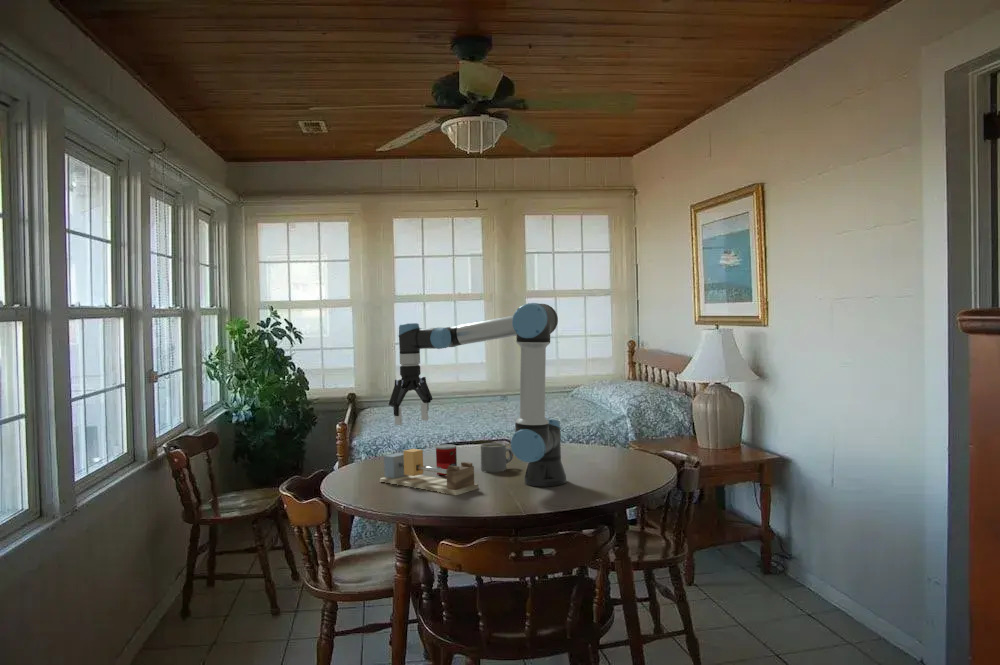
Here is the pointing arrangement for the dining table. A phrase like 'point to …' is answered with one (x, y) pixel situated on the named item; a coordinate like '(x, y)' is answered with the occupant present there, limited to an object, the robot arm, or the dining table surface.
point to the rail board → (441, 480)
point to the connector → (393, 465)
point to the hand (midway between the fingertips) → (411, 422)
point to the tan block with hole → (413, 461)
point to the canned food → (445, 456)
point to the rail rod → (427, 468)
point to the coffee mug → (494, 457)
